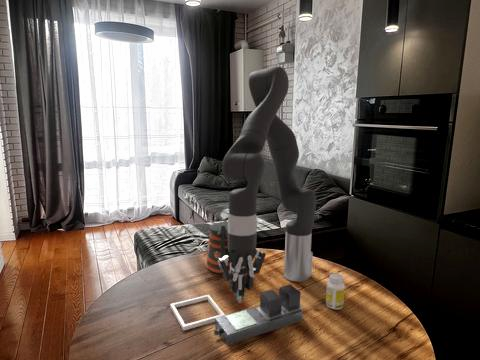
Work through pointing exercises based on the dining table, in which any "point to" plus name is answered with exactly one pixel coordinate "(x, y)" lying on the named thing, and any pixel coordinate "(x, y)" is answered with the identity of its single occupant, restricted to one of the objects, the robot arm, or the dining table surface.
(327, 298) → the supplement bottle
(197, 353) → the dining table surface
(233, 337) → the power strip
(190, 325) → the empty frame
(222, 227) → the beer stein
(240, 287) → the push button
